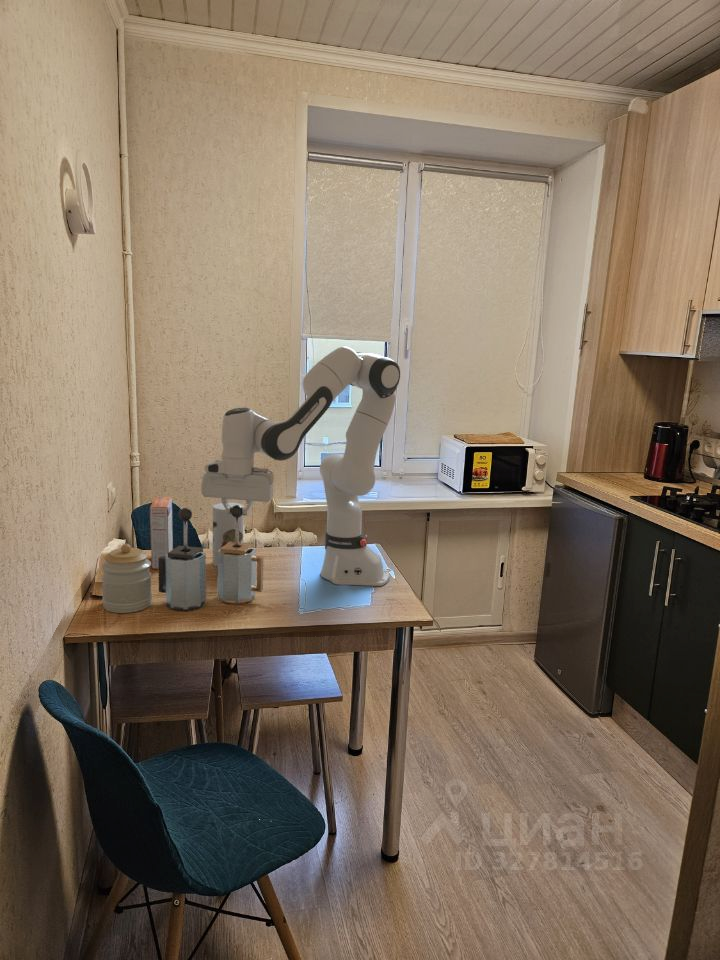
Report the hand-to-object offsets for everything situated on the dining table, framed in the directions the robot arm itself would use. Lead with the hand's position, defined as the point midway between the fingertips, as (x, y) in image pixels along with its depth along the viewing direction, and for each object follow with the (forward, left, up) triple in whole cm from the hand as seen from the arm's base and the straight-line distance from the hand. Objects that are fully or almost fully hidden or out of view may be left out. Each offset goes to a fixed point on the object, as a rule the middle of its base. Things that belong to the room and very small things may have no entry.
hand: (237, 514), depth 188 cm
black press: (+13, +8, -25) cm, 29 cm away
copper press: (-1, 0, -25) cm, 25 cm away
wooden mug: (+7, -15, -25) cm, 30 cm away
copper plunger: (0, 0, -14) cm, 14 cm away
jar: (+27, +13, -25) cm, 39 cm away
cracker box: (+34, -23, -25) cm, 48 cm away
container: (+13, -28, -25) cm, 40 cm away
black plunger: (+12, +8, -14) cm, 20 cm away
